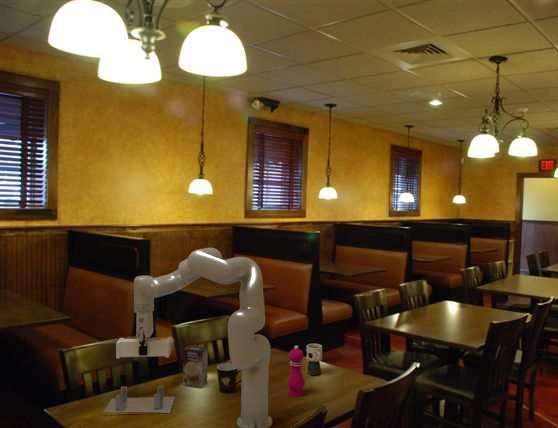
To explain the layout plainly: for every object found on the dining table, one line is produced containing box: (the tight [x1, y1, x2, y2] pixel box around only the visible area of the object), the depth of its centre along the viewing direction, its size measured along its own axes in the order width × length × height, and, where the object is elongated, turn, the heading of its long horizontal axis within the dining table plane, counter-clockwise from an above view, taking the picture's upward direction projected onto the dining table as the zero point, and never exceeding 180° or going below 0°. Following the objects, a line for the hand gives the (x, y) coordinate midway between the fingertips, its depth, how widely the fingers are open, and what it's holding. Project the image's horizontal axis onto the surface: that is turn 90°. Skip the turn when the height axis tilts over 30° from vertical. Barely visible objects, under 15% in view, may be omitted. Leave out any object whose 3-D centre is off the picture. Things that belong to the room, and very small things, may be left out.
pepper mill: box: [286, 345, 306, 397], centre depth 204 cm, size 7×7×20 cm
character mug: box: [306, 343, 323, 376], centre depth 227 cm, size 11×7×13 cm, turn 24°
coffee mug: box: [216, 362, 242, 395], centre depth 206 cm, size 12×9×10 cm
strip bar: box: [115, 336, 172, 359], centre depth 196 cm, size 7×20×7 cm, turn 94°
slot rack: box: [103, 385, 175, 414], centre depth 189 cm, size 12×24×6 cm, turn 95°
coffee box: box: [182, 344, 209, 389], centre depth 213 cm, size 9×6×16 cm
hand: (144, 352), depth 196 cm, fingers closed on strip bar, 4 cm apart
